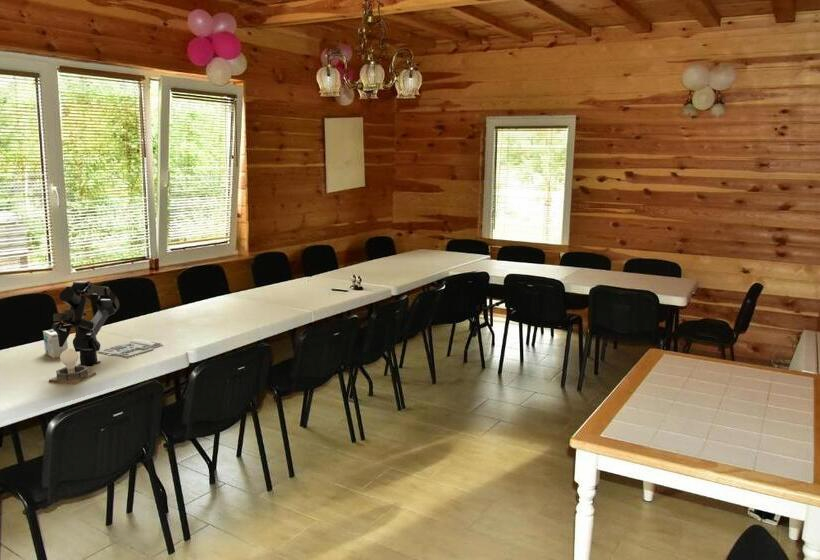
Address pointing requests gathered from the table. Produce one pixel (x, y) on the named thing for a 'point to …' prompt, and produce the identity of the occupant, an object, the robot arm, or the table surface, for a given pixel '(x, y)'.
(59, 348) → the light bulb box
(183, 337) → the table surface
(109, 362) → the table surface
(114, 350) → the grey openwork panel
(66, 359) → the lightbulb
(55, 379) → the bulb holder
